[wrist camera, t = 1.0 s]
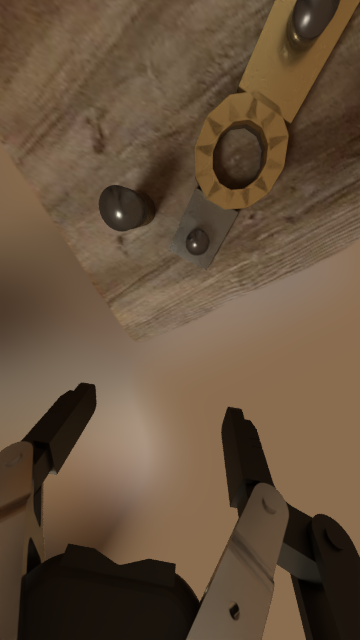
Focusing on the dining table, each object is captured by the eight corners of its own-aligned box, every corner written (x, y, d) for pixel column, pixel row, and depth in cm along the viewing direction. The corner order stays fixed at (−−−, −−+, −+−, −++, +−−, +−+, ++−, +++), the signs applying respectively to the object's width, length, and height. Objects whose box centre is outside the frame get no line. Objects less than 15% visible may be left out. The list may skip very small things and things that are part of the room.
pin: (123, 217, 27) (95, 219, 20) (132, 186, 25) (104, 176, 18) (149, 230, 28) (131, 238, 20) (159, 202, 26) (143, 198, 18)
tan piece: (158, 243, 29) (153, 248, 25) (272, -44, 16) (295, -121, 13) (216, 273, 30) (218, 281, 27) (358, 31, 18) (402, -17, 14)
